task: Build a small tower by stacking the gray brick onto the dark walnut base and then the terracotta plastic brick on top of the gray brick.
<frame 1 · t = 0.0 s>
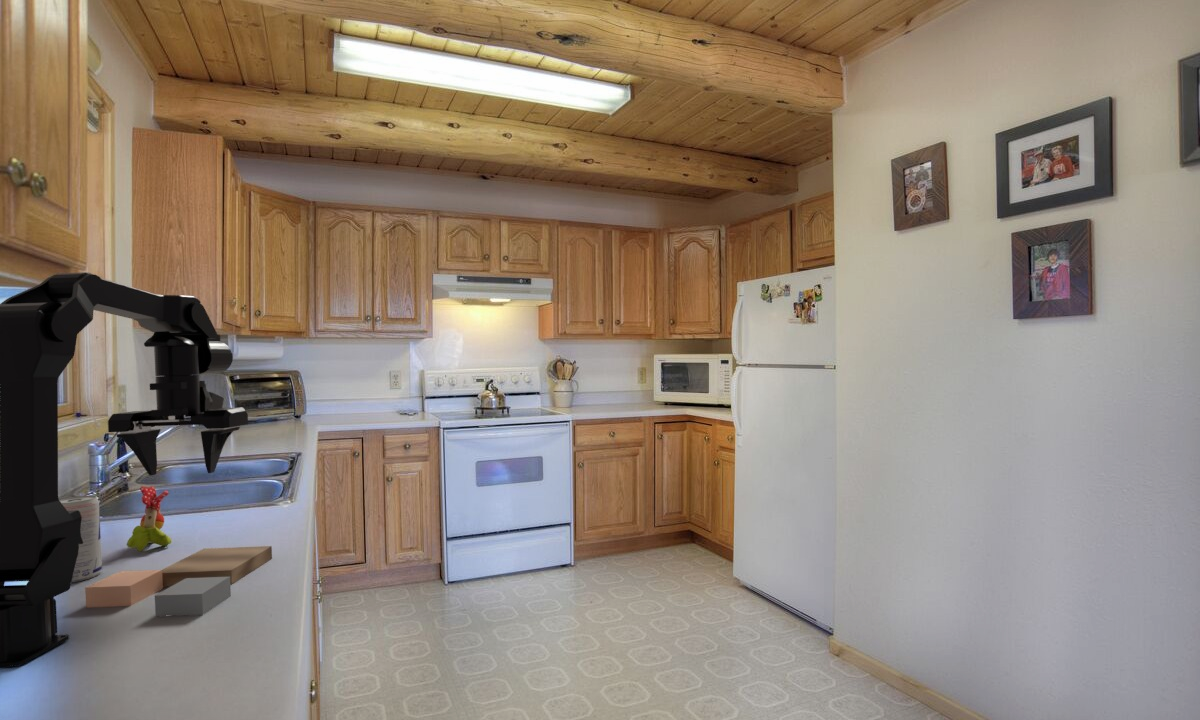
hand: (182, 473, 97), 15 cm above the countertop, tool pointing down, fingers open, 9 cm apart
terracotta brick: (126, 599, 85), on the countertop
walnut tower base: (217, 571, 94), on the countertop
gray brick: (194, 608, 81), on the countertop
energy drink: (79, 578, 94), on the countertop
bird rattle: (150, 547, 109), on the countertop
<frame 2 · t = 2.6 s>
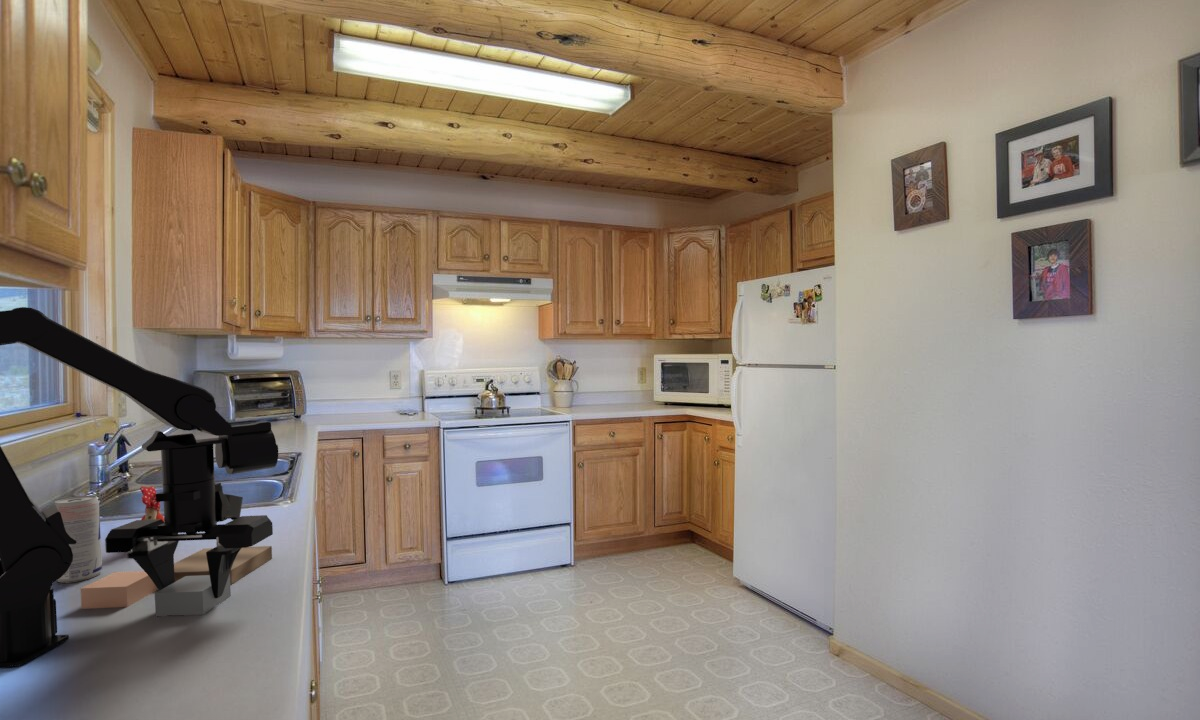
hand: (194, 597, 81), 1 cm above the countertop, tool pointing down, fingers closed on gray brick, 6 cm apart
gray brick: (194, 605, 81), on the countertop, touching gripper
everything else where it was.
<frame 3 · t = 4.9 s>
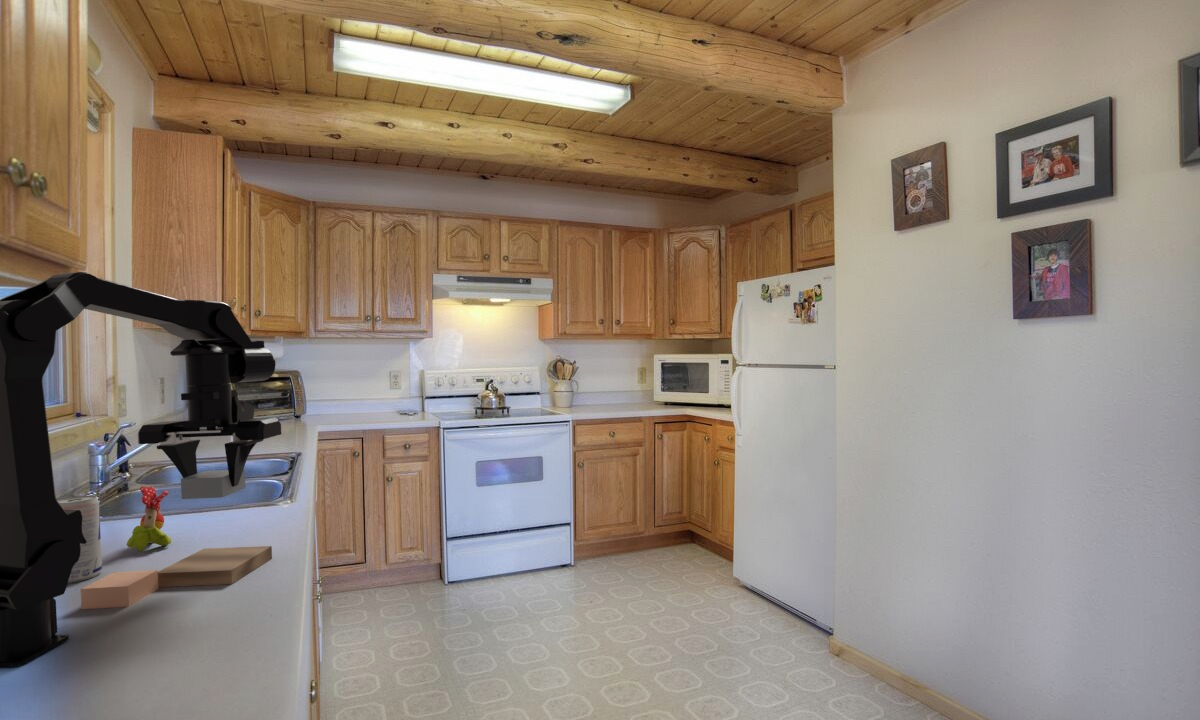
hand: (214, 486, 93), 13 cm above the countertop, tool pointing down, fingers closed on gray brick, 6 cm apart
gray brick: (214, 493, 93), point 12 cm above the countertop, touching gripper
everything else where it was.
when the fingers open (3 cm above the countertop, at t = 7.3 s): gray brick stays where it is, resting on walnut tower base.
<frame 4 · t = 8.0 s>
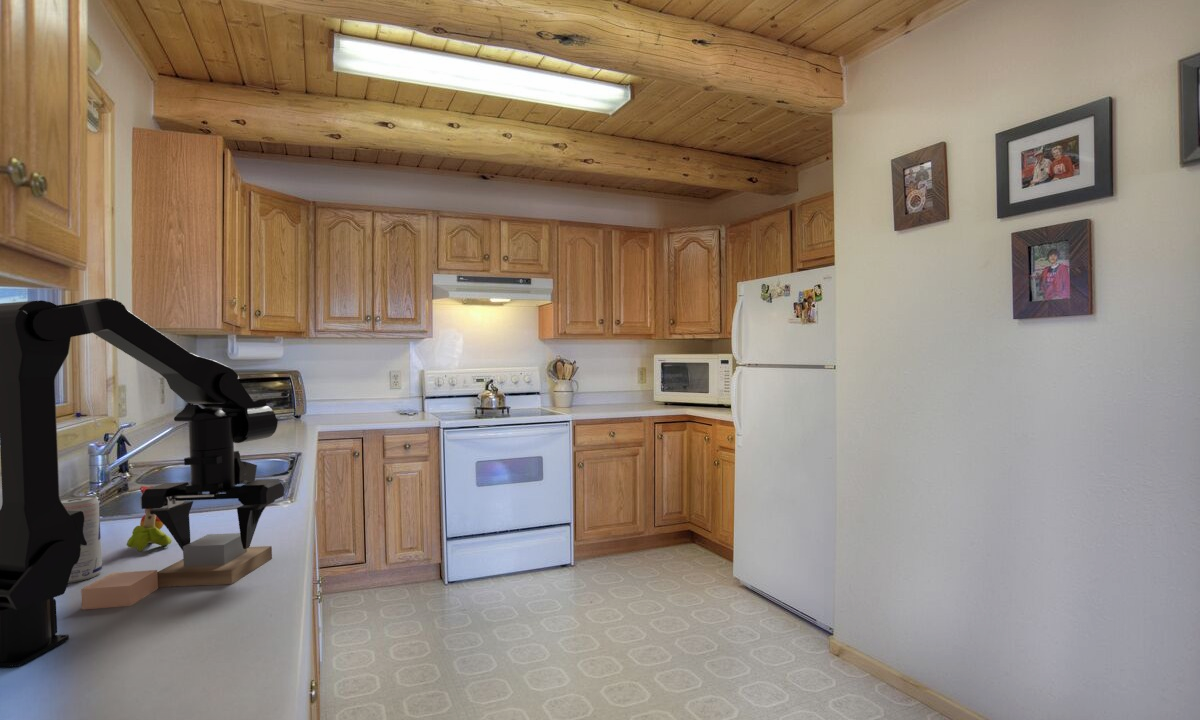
hand: (216, 549, 94), 3 cm above the countertop, tool pointing down, fingers open, 9 cm apart
gray brick: (216, 558, 94), point 2 cm above the countertop, touching walnut tower base
everything else where it was.
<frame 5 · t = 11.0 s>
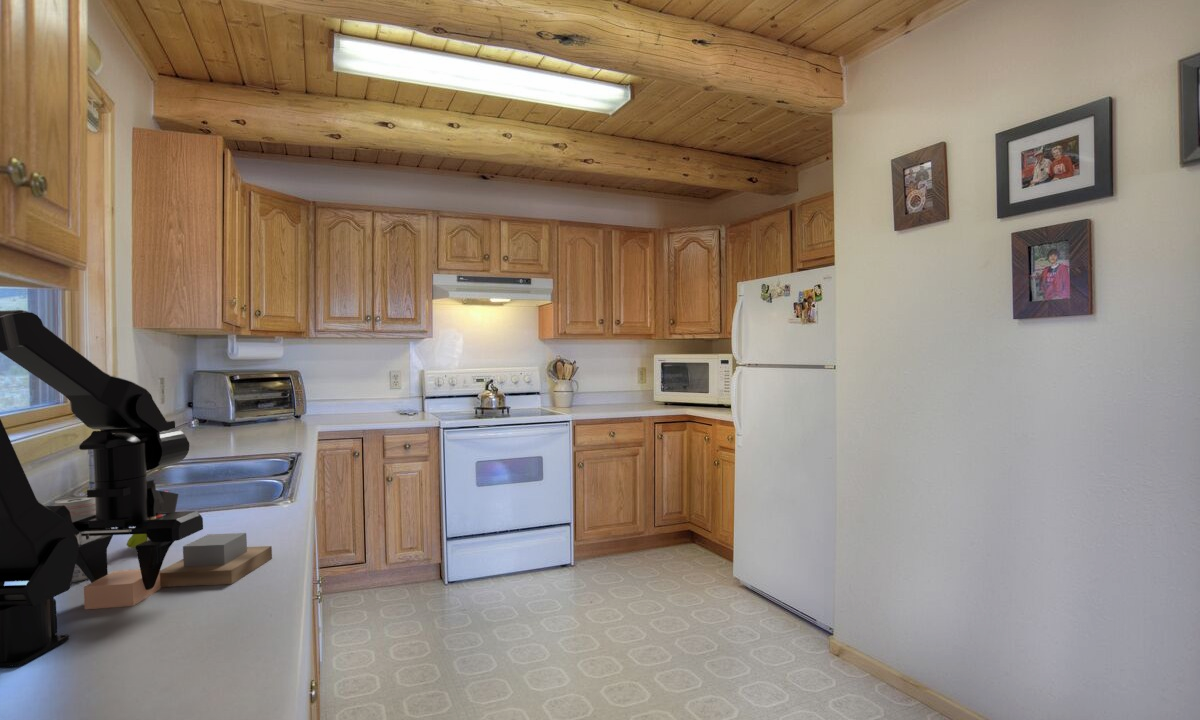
hand: (126, 589, 85), 1 cm above the countertop, tool pointing down, fingers closed on terracotta brick, 6 cm apart
terracotta brick: (124, 598, 84), on the countertop, touching gripper
everything else where it was.
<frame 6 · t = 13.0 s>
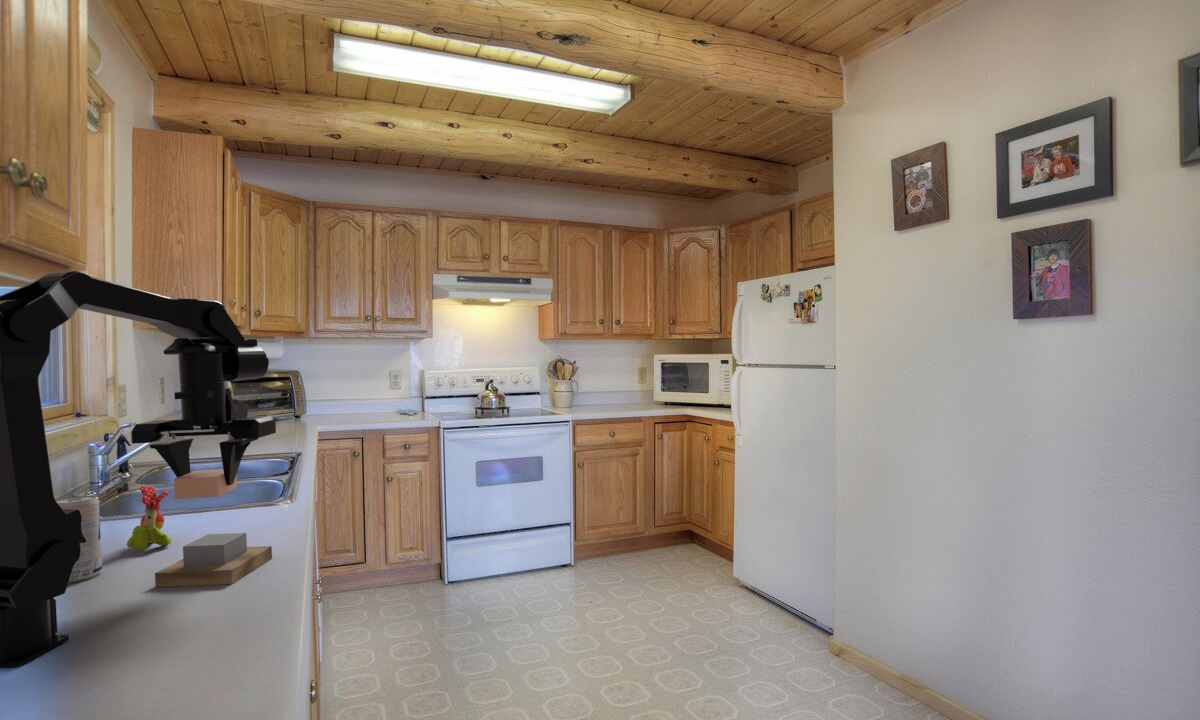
hand: (208, 485, 93), 13 cm above the countertop, tool pointing down, fingers closed on terracotta brick, 6 cm apart
terracotta brick: (207, 493, 93), point 12 cm above the countertop, touching gripper
everything else where it was.
when the fingers open (7 cm above the countertop, at t = 15.0 s): terracotta brick stays where it is, resting on gray brick.
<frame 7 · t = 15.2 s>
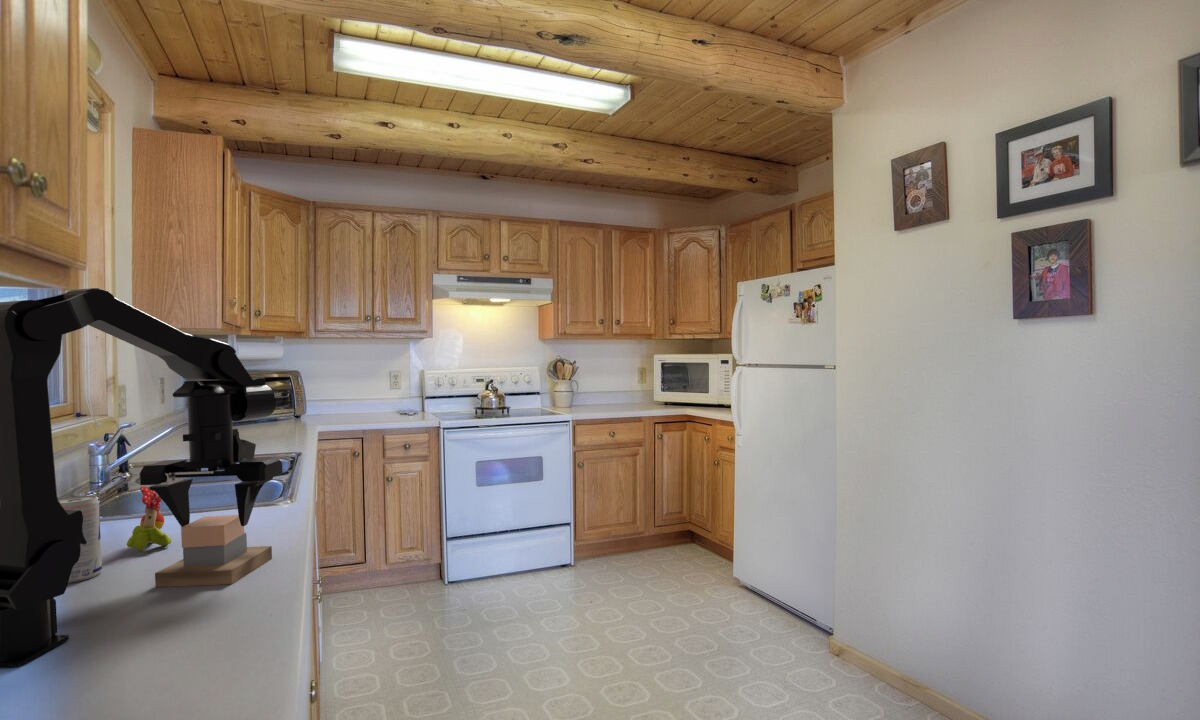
hand: (215, 526, 94), 7 cm above the countertop, tool pointing down, fingers open, 9 cm apart
terracotta brick: (214, 540, 93), point 5 cm above the countertop, touching gray brick
gray brick: (216, 558, 94), point 2 cm above the countertop, touching terracotta brick, walnut tower base
everything else where it was.
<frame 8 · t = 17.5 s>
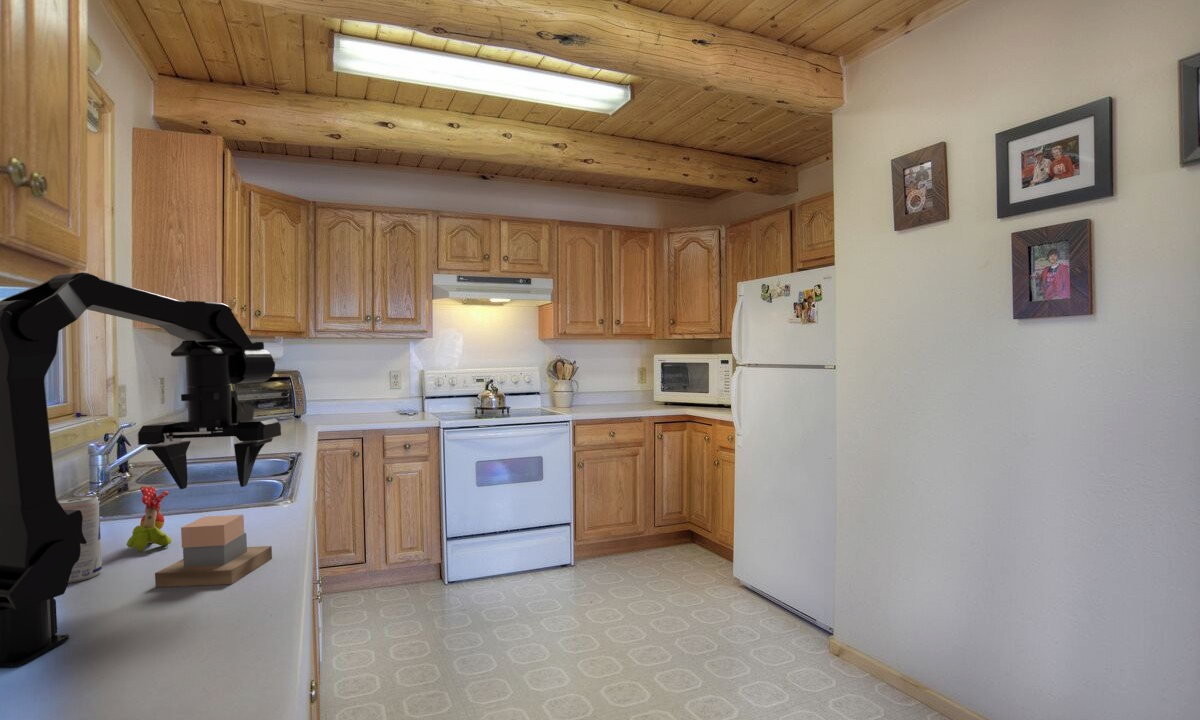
hand: (213, 487, 94), 13 cm above the countertop, tool pointing down, fingers open, 9 cm apart
nothing on the countertop moved.
at the end: gray brick 0.0 cm off-centre on the walnut tower base, point 2.0 cm above the walnut tower base's base; terracotta brick 0.4 cm off-centre on the walnut tower base, point 5.0 cm above the walnut tower base's base; terracotta brick tilted 0° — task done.
